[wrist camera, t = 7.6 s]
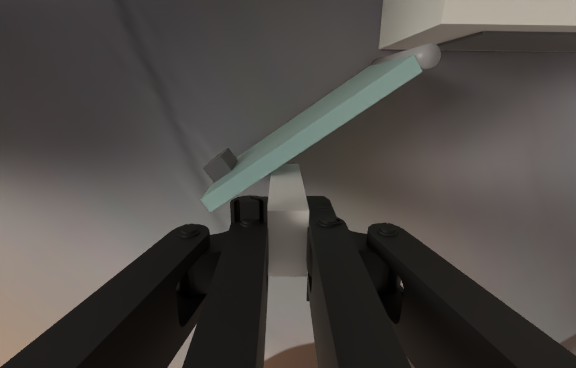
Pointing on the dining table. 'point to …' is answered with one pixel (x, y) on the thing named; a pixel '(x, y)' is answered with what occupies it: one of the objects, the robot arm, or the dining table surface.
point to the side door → (314, 123)
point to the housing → (480, 25)
